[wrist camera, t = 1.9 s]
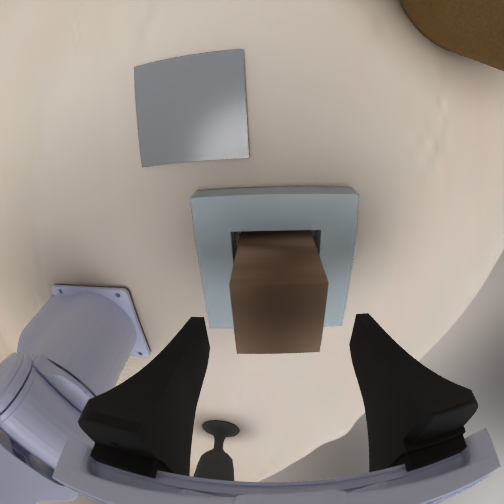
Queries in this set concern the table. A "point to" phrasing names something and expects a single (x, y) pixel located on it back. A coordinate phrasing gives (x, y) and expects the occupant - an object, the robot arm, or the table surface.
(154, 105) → the plate
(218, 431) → the sundae
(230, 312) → the pocket holder
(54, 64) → the table surface
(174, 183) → the table surface
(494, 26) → the plant pot
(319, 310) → the walnut block
